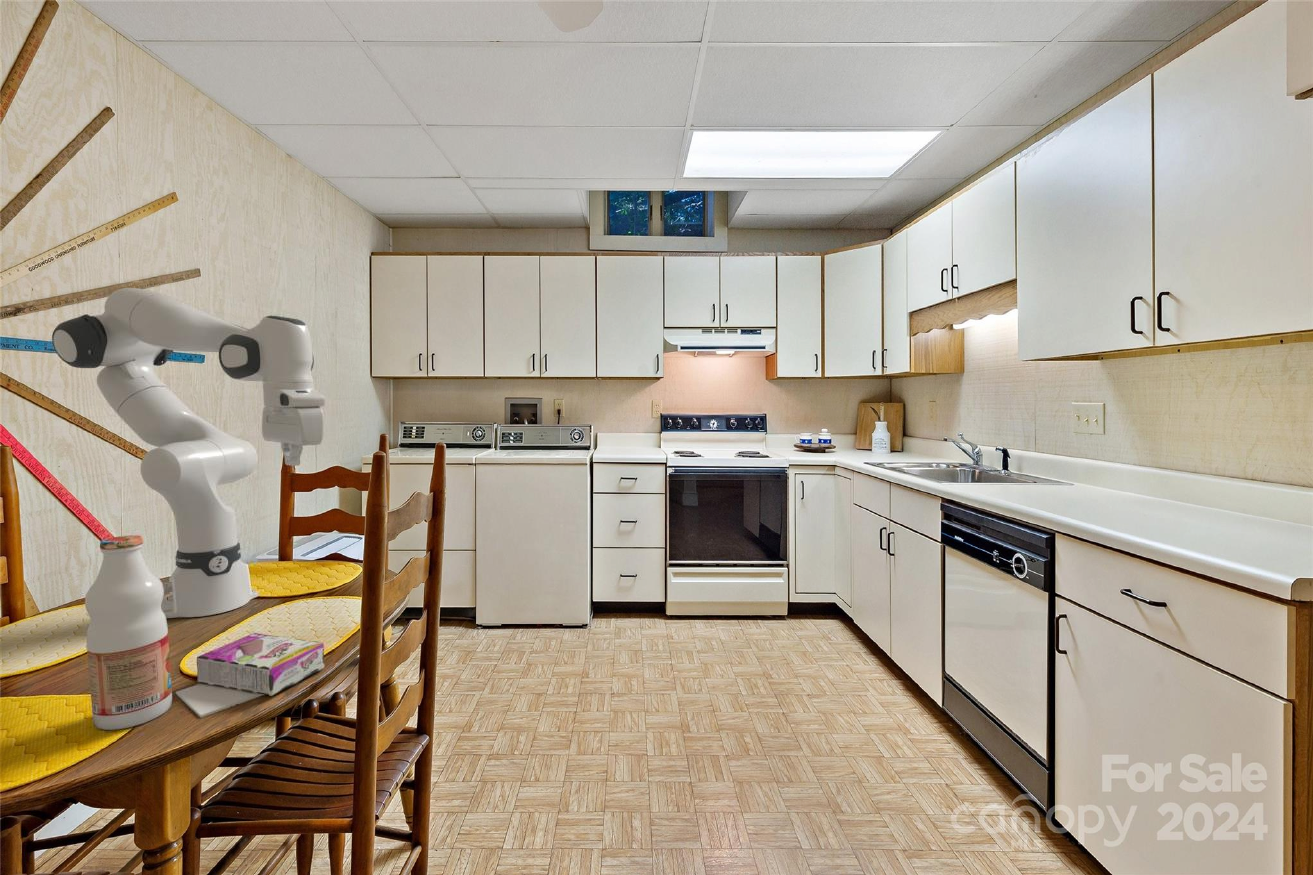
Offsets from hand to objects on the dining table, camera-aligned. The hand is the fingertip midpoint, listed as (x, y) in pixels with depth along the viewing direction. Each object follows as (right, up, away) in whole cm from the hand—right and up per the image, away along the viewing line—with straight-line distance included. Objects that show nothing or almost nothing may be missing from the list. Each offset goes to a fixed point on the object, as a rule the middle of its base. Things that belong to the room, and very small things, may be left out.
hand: (292, 465), depth 124 cm
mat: (+3, -37, -21) cm, 43 cm away
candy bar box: (-3, -34, -15) cm, 37 cm away
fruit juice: (-7, -38, -29) cm, 48 cm away
